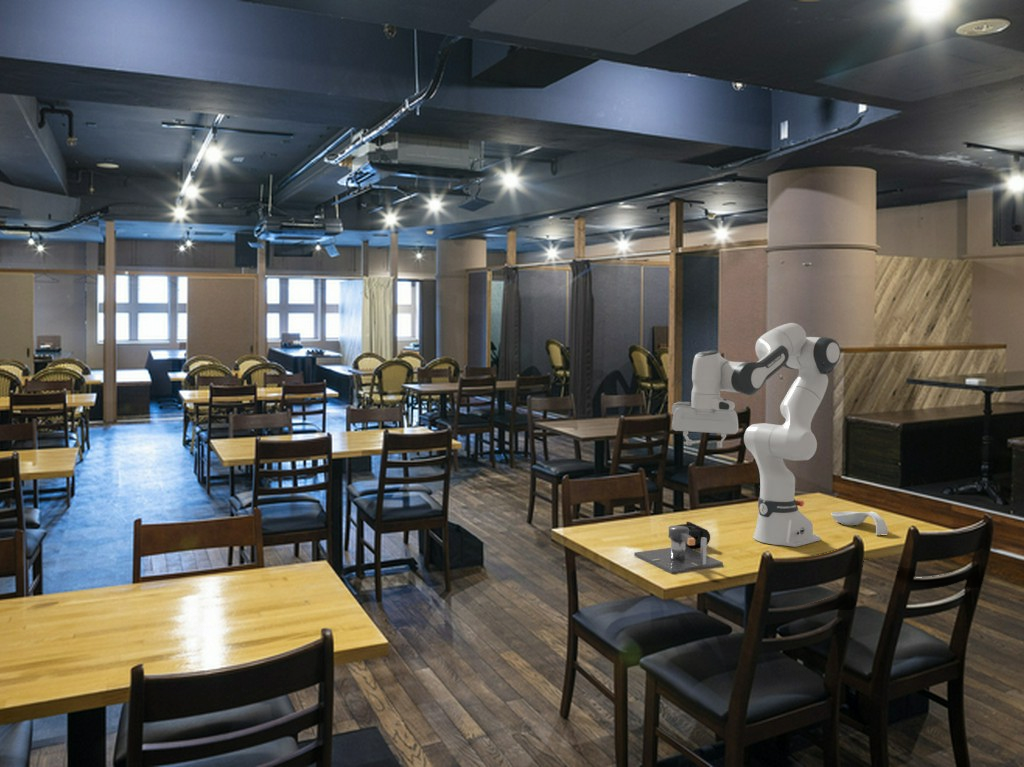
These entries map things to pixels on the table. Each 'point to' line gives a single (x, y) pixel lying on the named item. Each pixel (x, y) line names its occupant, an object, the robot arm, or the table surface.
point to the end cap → (696, 534)
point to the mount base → (676, 563)
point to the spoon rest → (860, 519)
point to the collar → (681, 534)
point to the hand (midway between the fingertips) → (704, 446)
